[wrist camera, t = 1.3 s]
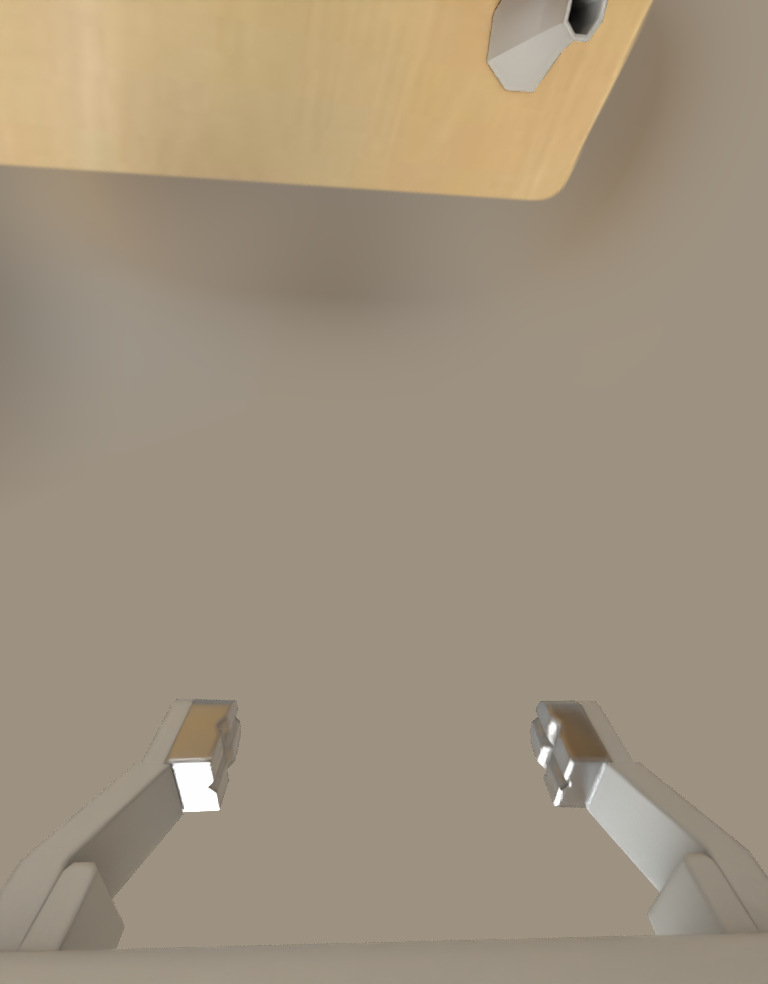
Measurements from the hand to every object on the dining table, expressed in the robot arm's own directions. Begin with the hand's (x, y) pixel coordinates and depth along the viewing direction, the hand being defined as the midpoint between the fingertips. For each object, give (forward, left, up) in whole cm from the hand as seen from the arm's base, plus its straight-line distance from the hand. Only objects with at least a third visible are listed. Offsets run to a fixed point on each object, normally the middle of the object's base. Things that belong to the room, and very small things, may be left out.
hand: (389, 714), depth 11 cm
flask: (-4, +28, -47) cm, 55 cm away
